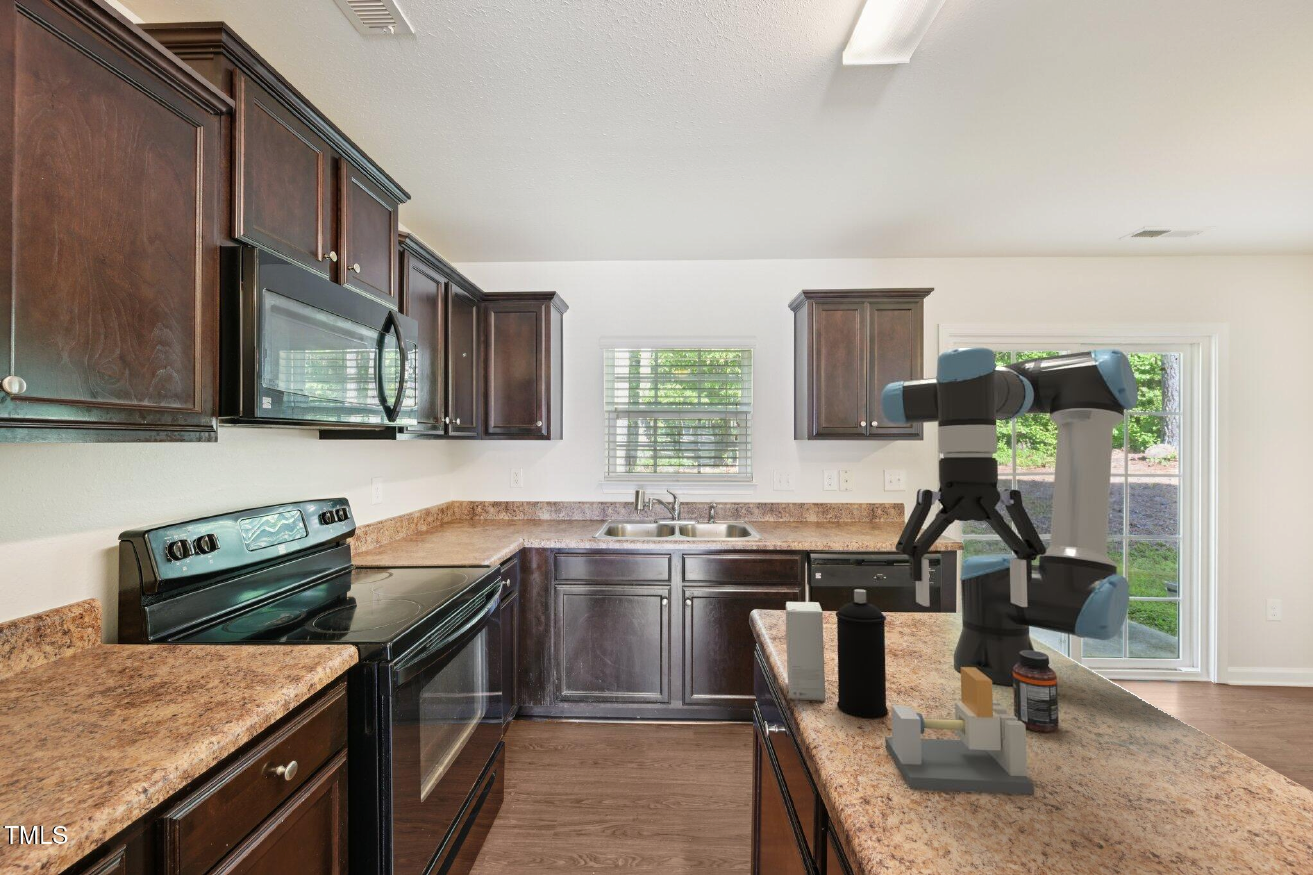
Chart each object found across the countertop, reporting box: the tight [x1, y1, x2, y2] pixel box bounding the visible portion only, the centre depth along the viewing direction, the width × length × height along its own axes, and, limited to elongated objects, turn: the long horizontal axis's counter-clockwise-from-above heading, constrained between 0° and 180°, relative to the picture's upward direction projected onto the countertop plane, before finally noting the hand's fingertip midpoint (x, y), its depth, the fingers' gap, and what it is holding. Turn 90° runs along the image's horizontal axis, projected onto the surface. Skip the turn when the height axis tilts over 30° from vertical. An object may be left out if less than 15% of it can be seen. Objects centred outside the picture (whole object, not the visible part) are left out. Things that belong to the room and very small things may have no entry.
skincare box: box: [785, 601, 826, 701], centre depth 107 cm, size 8×7×16 cm
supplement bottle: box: [1012, 650, 1060, 734], centre depth 93 cm, size 6×6×11 cm
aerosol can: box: [835, 588, 889, 720], centre depth 100 cm, size 8×8×20 cm
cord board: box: [884, 699, 1034, 796], centre depth 80 cm, size 15×11×8 cm
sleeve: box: [954, 667, 1001, 751], centre depth 80 cm, size 4×5×9 cm
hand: (970, 604), depth 84 cm, fingers open, 13 cm apart
